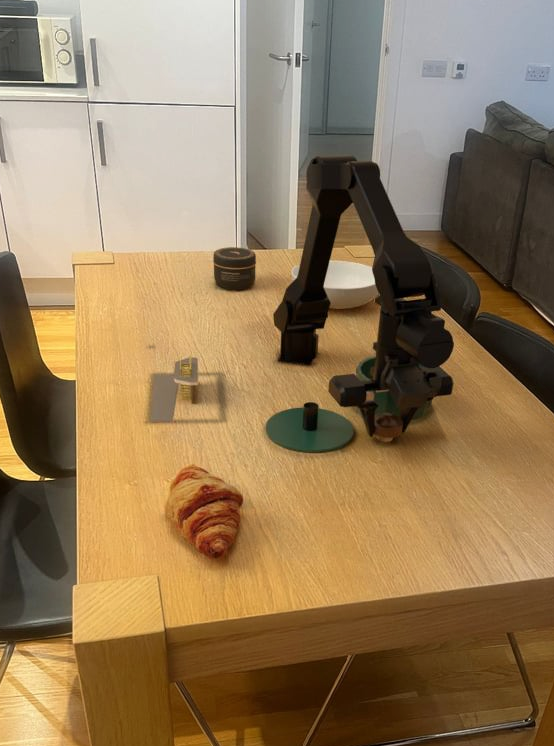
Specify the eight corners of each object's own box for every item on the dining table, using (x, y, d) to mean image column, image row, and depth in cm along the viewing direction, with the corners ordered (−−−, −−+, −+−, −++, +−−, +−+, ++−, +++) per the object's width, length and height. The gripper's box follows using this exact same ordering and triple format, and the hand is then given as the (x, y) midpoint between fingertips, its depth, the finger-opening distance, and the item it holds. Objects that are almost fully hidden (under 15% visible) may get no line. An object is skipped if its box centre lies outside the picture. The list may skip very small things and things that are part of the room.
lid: (266, 455, 116) (267, 426, 113) (264, 412, 128) (265, 385, 125) (358, 456, 117) (361, 427, 114) (348, 413, 129) (350, 386, 126)
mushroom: (366, 446, 120) (369, 418, 117) (370, 430, 124) (373, 404, 122) (398, 450, 119) (402, 423, 117) (401, 435, 124) (405, 408, 121)
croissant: (171, 501, 111) (142, 462, 106) (230, 465, 111) (203, 425, 106) (200, 591, 94) (167, 551, 89) (270, 550, 94) (240, 507, 89)
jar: (219, 276, 185) (218, 244, 181) (259, 280, 184) (259, 248, 180) (209, 289, 177) (208, 256, 173) (251, 293, 176) (251, 260, 172)
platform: (149, 421, 123) (147, 385, 120) (154, 374, 138) (152, 340, 134) (223, 420, 125) (223, 384, 121) (220, 373, 140) (219, 340, 136)
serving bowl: (396, 300, 177) (399, 271, 173) (352, 326, 162) (354, 295, 158) (320, 281, 186) (322, 253, 182) (272, 304, 171) (272, 274, 167)
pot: (360, 431, 124) (364, 395, 120) (347, 381, 140) (350, 348, 136) (440, 431, 125) (446, 396, 121) (419, 382, 141) (424, 349, 137)
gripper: (358, 369, 103) (350, 467, 112) (479, 357, 109) (461, 451, 117) (330, 339, 112) (324, 432, 121) (443, 329, 117) (429, 418, 126)
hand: (385, 434), depth 121 cm, fingers closed on mushroom, 5 cm apart
